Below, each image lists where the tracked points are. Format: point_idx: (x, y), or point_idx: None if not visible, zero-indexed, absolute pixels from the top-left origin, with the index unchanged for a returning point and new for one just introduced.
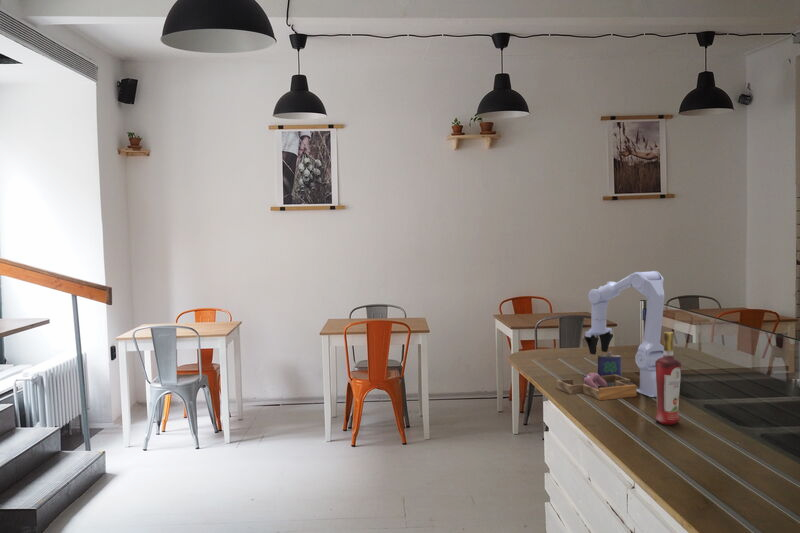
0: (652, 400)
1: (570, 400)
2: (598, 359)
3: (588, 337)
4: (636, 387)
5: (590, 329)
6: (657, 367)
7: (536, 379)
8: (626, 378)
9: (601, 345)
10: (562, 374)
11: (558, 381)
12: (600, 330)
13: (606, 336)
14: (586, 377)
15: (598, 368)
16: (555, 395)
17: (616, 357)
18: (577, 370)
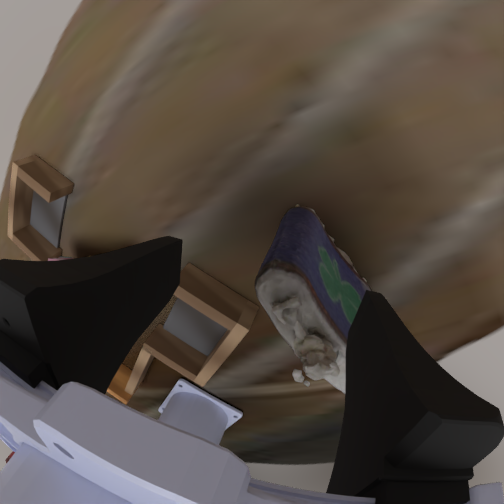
0: (143, 407)
1: (7, 251)
2: (264, 261)
3: (2, 332)
4: (129, 399)
5: (45, 441)
6: (9, 455)
7: (78, 14)
8: (210, 375)
9: (376, 323)
10: (232, 11)
11: (12, 174)
12: None
13: (345, 479)
14: None
15: (276, 233)
16: (3, 200)
17: (324, 378)
18: (396, 32)
